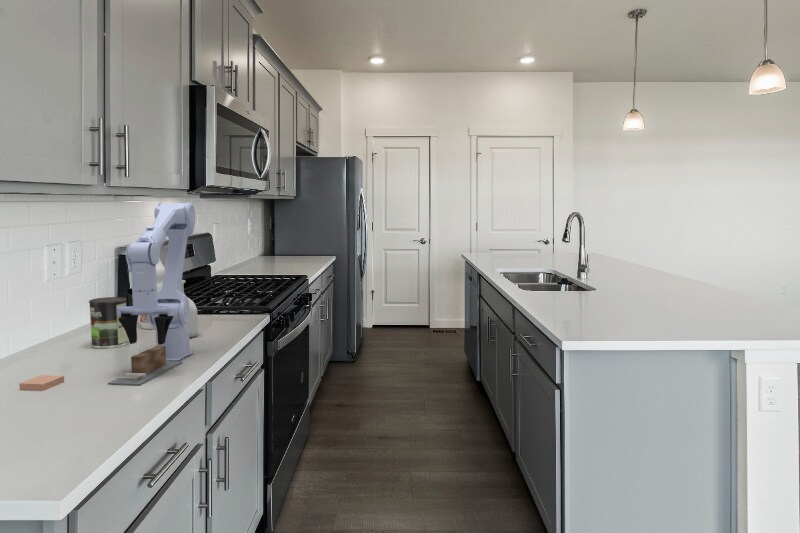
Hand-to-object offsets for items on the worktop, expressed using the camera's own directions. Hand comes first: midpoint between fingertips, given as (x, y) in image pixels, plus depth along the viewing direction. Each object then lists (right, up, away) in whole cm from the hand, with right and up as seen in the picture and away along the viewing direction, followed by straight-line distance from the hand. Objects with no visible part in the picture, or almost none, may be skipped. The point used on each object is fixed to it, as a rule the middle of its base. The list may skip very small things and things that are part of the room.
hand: (147, 343), depth 153 cm
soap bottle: (-8, -4, +44) cm, 45 cm away
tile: (-20, -8, -7) cm, 22 cm away
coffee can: (-25, -5, +33) cm, 42 cm away
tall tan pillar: (0, -7, -1) cm, 7 cm away
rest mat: (0, -8, 0) cm, 8 cm away
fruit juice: (-23, -2, +61) cm, 65 cm away
